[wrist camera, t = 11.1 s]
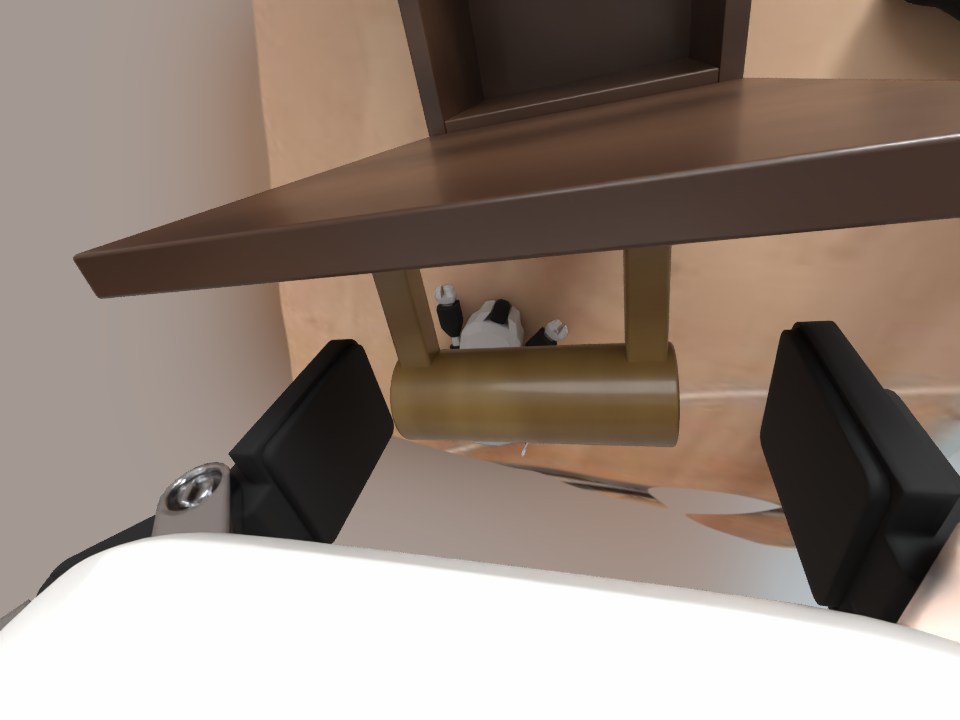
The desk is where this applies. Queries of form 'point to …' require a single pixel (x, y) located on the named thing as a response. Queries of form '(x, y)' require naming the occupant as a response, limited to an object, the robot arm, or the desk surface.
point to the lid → (569, 233)
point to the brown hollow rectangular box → (564, 54)
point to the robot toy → (490, 329)
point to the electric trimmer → (941, 6)
